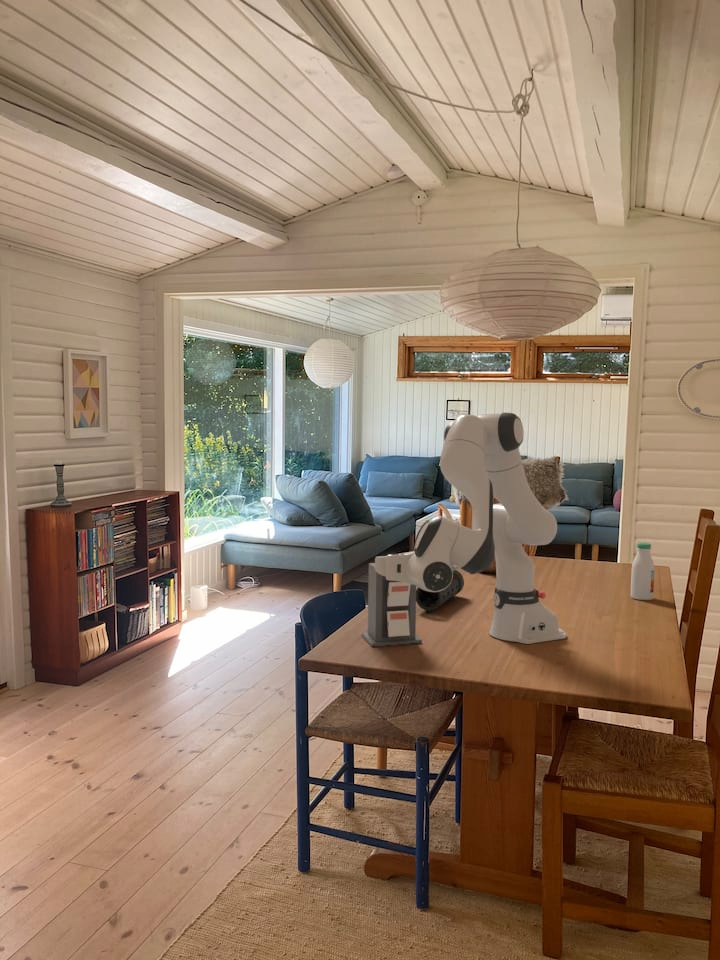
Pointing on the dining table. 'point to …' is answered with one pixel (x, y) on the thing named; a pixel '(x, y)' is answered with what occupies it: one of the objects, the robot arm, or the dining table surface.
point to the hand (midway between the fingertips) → (407, 561)
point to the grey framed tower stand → (379, 610)
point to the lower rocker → (398, 623)
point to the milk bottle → (642, 574)
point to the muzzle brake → (439, 593)
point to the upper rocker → (398, 594)
